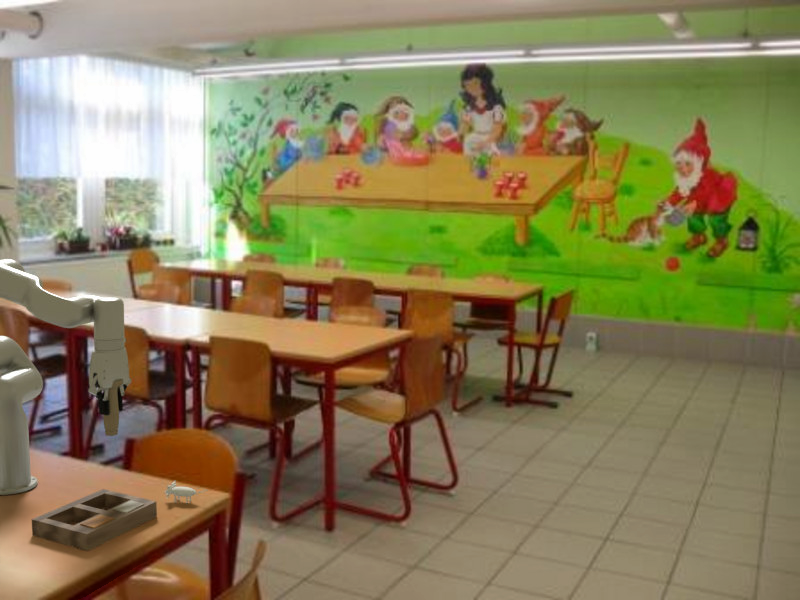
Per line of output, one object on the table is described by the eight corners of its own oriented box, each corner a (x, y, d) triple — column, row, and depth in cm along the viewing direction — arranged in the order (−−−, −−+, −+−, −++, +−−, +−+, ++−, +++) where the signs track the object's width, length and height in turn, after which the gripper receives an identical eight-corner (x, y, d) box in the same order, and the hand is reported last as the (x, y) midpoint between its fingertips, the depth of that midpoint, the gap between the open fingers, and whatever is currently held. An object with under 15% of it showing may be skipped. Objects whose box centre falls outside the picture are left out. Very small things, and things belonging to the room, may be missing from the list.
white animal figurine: (160, 503, 213) (160, 486, 213) (170, 496, 219) (170, 479, 218) (203, 508, 211) (202, 490, 210) (212, 500, 216) (211, 483, 215)
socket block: (32, 535, 193) (31, 518, 193) (103, 503, 213) (103, 487, 212) (87, 551, 185) (86, 533, 185) (156, 516, 205) (156, 500, 204)
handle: (124, 436, 217) (123, 381, 215) (98, 438, 215) (97, 382, 213) (124, 431, 221) (123, 377, 219) (99, 432, 219) (97, 378, 217)
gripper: (122, 338, 224) (123, 403, 226) (73, 348, 209) (75, 417, 212) (143, 341, 221) (144, 407, 223) (95, 351, 206) (96, 422, 208)
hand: (110, 411), depth 217 cm, fingers closed on handle, 3 cm apart
